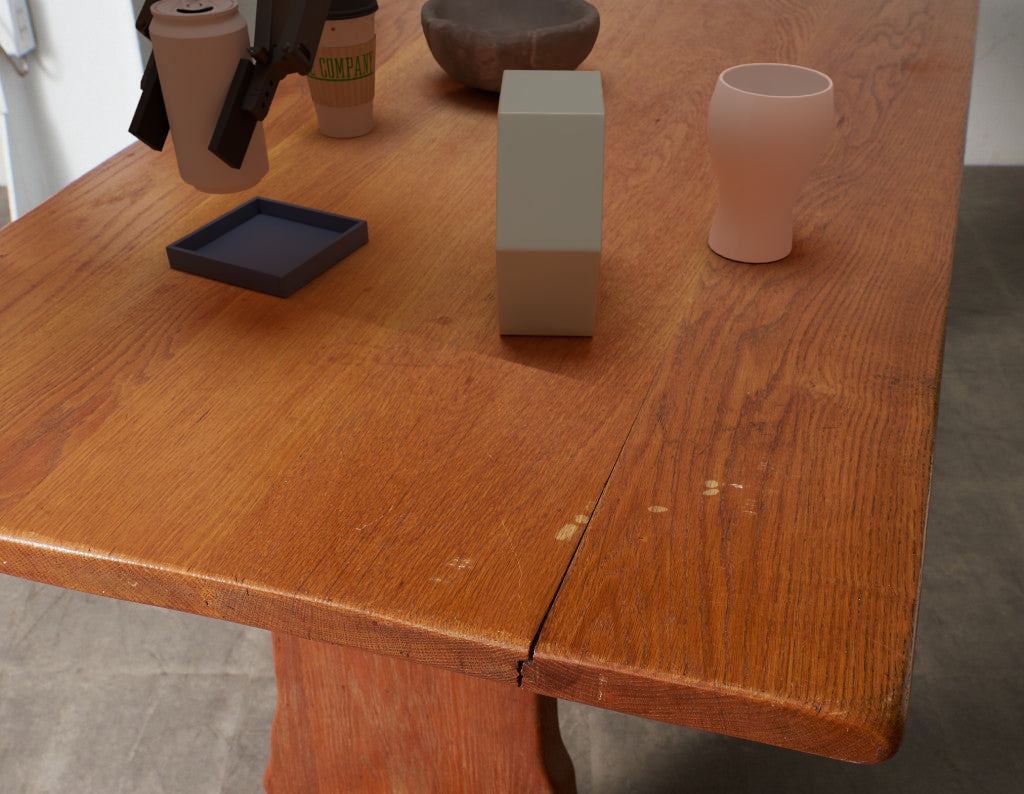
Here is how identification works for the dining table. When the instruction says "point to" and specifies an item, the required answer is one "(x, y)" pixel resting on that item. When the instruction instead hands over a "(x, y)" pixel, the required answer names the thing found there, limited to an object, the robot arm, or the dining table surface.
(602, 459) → the dining table surface
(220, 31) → the beverage can
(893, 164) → the dining table surface
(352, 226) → the tray
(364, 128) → the coffee cup
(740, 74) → the cup
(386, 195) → the dining table surface
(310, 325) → the dining table surface
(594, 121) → the grey beige box
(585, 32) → the bowl
